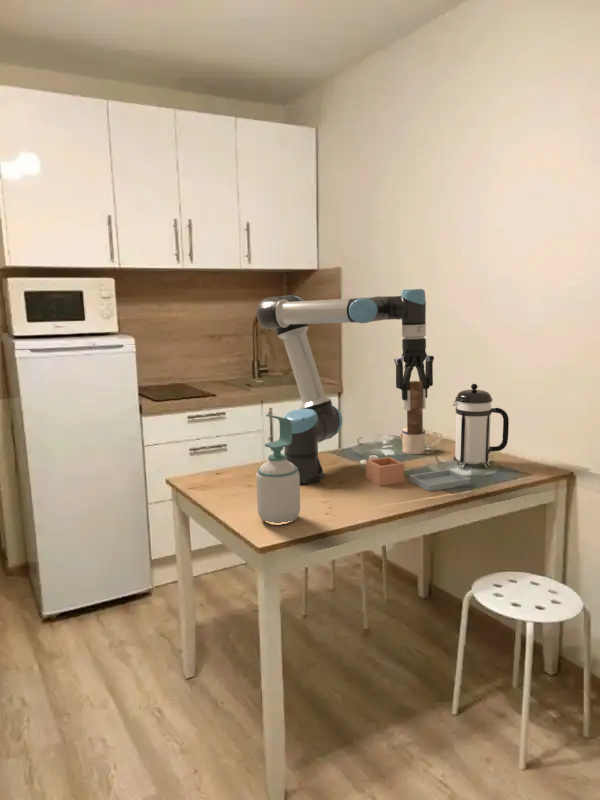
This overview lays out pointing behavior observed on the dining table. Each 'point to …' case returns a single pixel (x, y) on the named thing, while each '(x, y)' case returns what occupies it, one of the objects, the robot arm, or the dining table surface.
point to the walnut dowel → (415, 409)
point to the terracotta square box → (385, 471)
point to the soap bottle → (278, 481)
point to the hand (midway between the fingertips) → (414, 408)
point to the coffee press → (476, 426)
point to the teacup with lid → (413, 442)
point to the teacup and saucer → (369, 458)
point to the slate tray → (439, 480)
